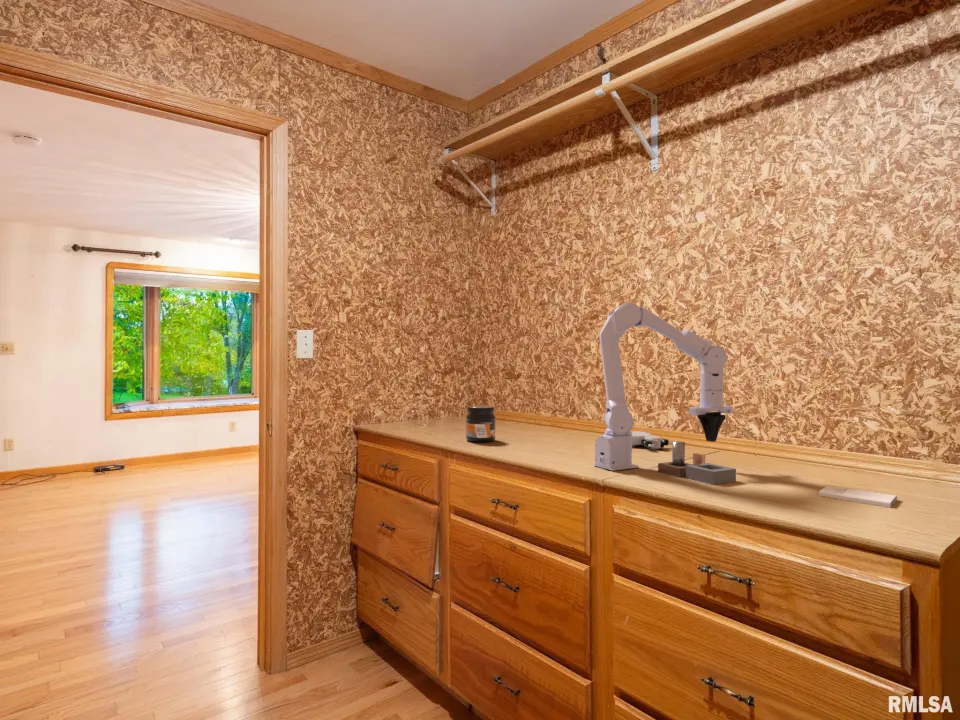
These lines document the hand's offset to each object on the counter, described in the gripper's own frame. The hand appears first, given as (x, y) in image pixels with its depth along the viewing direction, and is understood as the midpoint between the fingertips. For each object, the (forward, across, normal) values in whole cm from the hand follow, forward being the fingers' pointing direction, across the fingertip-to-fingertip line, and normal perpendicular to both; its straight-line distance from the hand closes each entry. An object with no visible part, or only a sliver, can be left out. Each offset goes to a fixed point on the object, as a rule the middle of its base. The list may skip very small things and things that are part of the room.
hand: (711, 441), depth 142 cm
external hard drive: (+8, +3, -34) cm, 35 cm away
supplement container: (+8, -34, +68) cm, 76 cm away
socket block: (+7, -12, 0) cm, 14 cm away
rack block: (+7, -11, -8) cm, 16 cm away
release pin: (+7, -7, 0) cm, 10 cm away
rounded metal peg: (+7, -12, 0) cm, 14 cm away
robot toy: (+8, +9, +33) cm, 35 cm away
